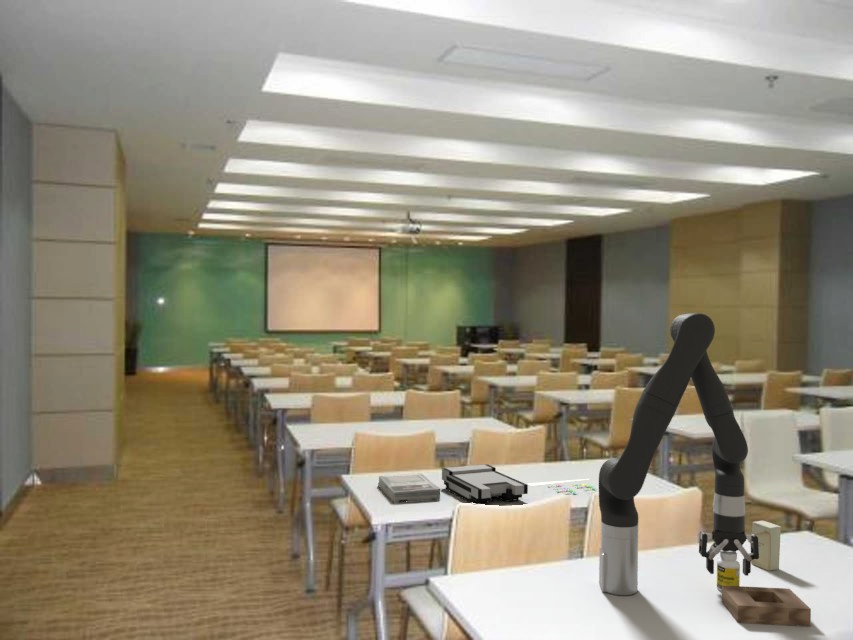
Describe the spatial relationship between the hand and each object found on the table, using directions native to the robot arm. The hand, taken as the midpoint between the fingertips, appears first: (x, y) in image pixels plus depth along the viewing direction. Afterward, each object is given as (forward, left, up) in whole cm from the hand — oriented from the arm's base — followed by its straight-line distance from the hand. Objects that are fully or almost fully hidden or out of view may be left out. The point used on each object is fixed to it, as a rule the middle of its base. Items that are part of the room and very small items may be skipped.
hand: (728, 573), depth 183 cm
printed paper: (-28, +100, -5) cm, 104 cm away
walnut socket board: (+4, -14, -4) cm, 15 cm away
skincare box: (+16, +19, -4) cm, 25 cm away
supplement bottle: (0, 0, -4) cm, 4 cm away
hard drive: (-95, +87, -5) cm, 128 cm away
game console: (-65, +87, -5) cm, 109 cm away
